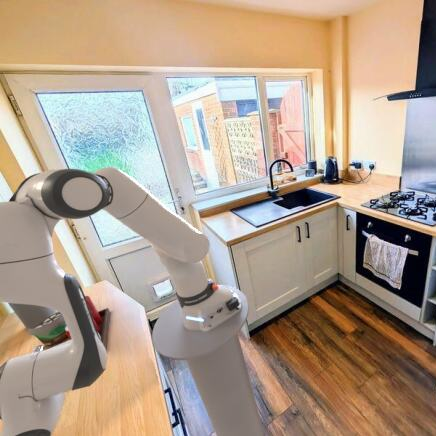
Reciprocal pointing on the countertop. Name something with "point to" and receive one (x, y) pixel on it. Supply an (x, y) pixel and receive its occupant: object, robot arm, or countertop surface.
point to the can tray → (104, 325)
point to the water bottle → (31, 314)
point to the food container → (51, 330)
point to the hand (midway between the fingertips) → (60, 338)
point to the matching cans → (94, 313)
